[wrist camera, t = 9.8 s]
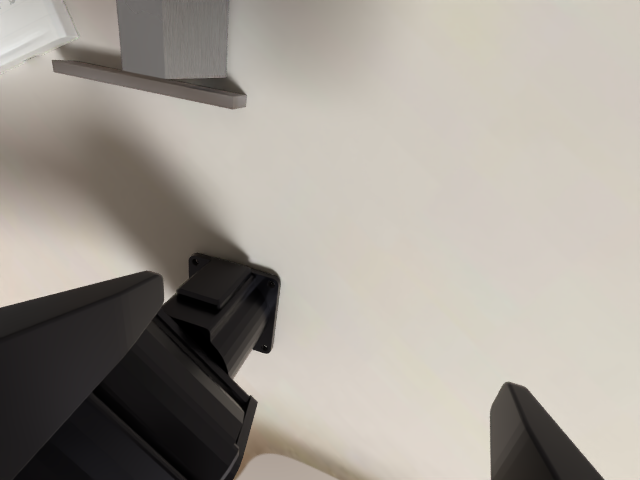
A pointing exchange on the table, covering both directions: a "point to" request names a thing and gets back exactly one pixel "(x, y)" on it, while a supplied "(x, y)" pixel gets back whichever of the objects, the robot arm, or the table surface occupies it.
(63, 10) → the external hard drive
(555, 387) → the table surface
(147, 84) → the base
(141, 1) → the clamp jaw
